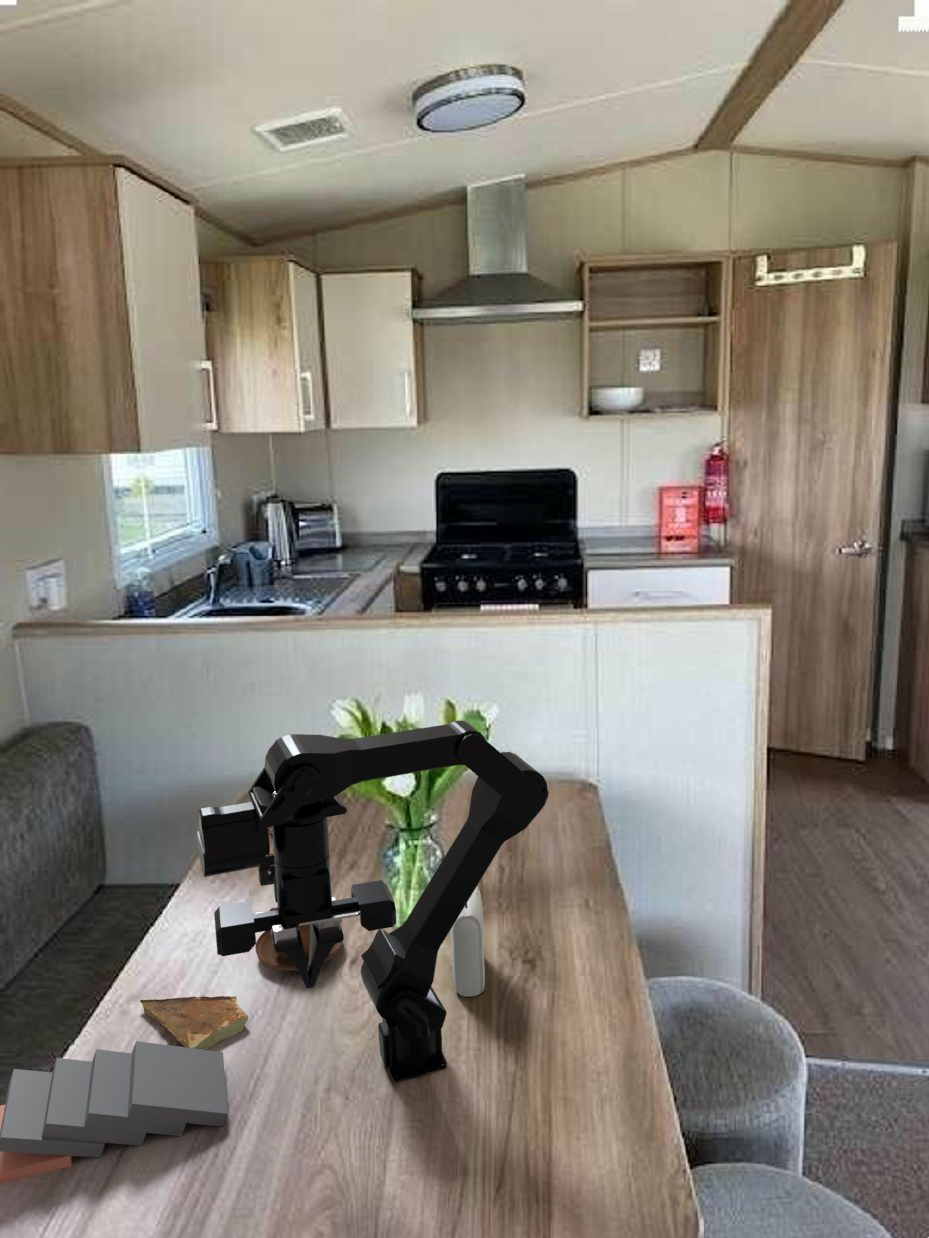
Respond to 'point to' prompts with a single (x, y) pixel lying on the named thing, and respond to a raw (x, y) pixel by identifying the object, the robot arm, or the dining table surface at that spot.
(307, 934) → the cup and saucer
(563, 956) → the dining table surface
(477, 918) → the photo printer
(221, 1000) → the shard
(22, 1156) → the domino
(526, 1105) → the dining table surface
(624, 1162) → the dining table surface
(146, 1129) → the domino
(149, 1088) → the domino
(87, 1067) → the domino
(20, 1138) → the domino
